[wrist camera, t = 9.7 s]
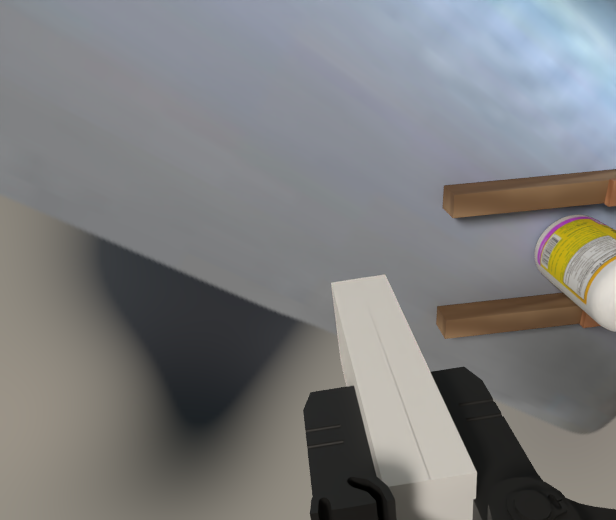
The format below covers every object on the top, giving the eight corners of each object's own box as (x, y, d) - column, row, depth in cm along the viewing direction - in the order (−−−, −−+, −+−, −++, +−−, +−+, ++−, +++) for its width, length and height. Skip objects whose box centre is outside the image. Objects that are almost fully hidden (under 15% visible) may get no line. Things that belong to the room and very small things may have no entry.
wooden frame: (443, 184, 43) (459, 197, 40) (684, 161, 44) (717, 172, 41) (436, 324, 49) (448, 346, 46) (647, 301, 50) (673, 320, 47)
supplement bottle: (609, 255, 47) (723, 331, 36) (544, 289, 48) (634, 374, 37) (590, 197, 45) (706, 260, 33) (521, 235, 46) (610, 308, 34)
